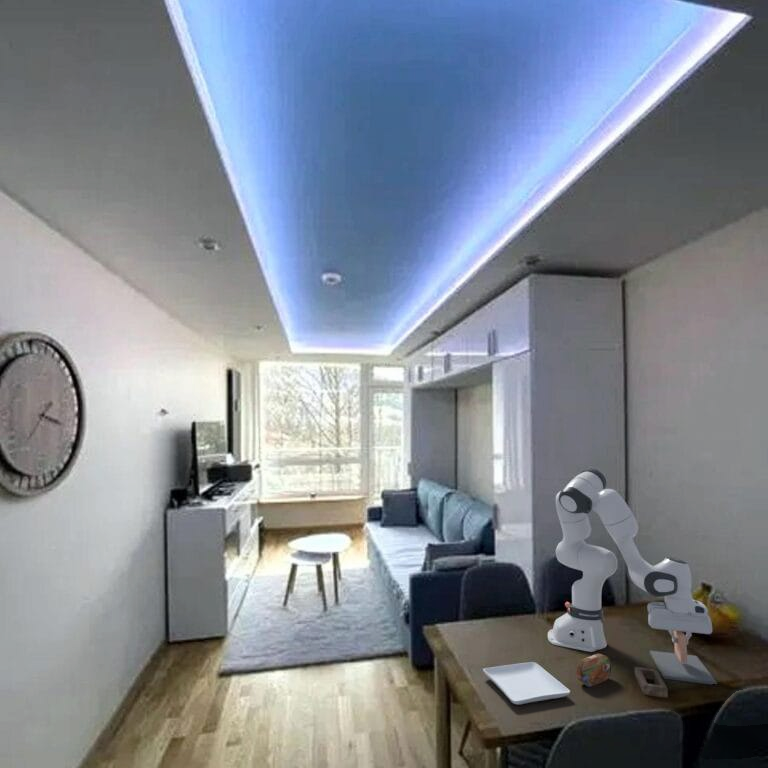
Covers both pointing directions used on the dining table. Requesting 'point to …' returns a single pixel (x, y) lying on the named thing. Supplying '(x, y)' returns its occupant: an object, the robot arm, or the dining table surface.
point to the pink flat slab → (681, 646)
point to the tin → (594, 669)
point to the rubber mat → (682, 668)
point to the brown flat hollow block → (651, 689)
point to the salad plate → (526, 682)
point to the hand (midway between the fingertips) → (680, 642)
